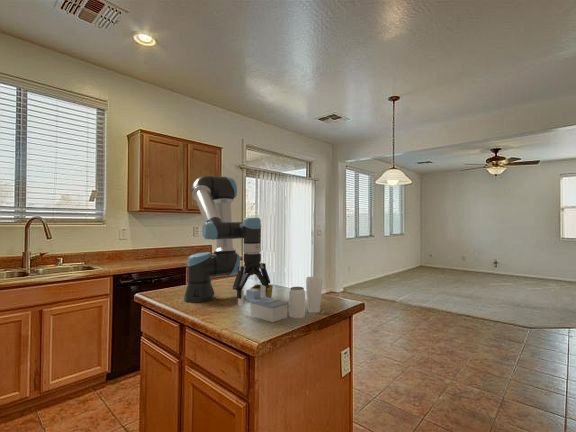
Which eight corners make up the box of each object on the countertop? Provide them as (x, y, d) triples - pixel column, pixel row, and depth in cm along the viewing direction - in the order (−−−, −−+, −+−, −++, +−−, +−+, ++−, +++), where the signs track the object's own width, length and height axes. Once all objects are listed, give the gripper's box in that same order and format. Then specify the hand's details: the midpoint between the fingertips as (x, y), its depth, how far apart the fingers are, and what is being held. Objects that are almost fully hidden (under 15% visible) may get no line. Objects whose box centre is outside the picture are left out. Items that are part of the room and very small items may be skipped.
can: (288, 314, 133) (288, 286, 133) (303, 314, 133) (303, 286, 134) (290, 319, 126) (290, 289, 127) (306, 319, 127) (306, 289, 127)
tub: (250, 316, 130) (250, 302, 130) (264, 312, 136) (264, 298, 136) (272, 323, 121) (272, 308, 121) (286, 319, 127) (286, 304, 127)
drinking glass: (317, 315, 132) (317, 279, 132) (303, 313, 135) (303, 278, 136) (324, 311, 138) (324, 277, 138) (310, 309, 141) (310, 275, 141)
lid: (241, 305, 134) (241, 291, 134) (257, 301, 140) (257, 287, 140) (272, 313, 121) (272, 298, 121) (288, 309, 127) (288, 294, 127)
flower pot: (268, 308, 142) (268, 288, 143) (249, 307, 144) (249, 288, 144) (273, 303, 151) (272, 285, 151) (255, 302, 153) (255, 284, 153)
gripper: (235, 256, 124) (235, 310, 124) (278, 251, 142) (278, 299, 142) (224, 254, 130) (224, 307, 129) (266, 250, 147) (266, 296, 147)
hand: (252, 303), depth 136 cm, fingers open, 12 cm apart
